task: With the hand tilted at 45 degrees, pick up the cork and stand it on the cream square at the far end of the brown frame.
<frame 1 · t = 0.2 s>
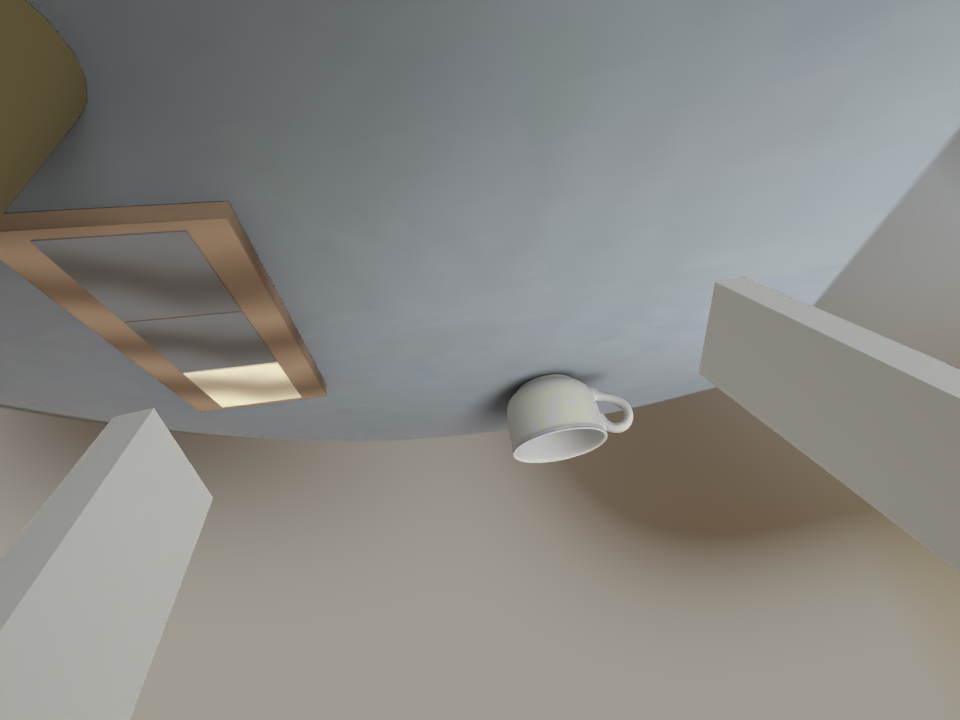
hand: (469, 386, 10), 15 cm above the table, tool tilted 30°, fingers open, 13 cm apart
brown frame: (211, 329, 31), on the table
teacup: (555, 381, 51), on the table
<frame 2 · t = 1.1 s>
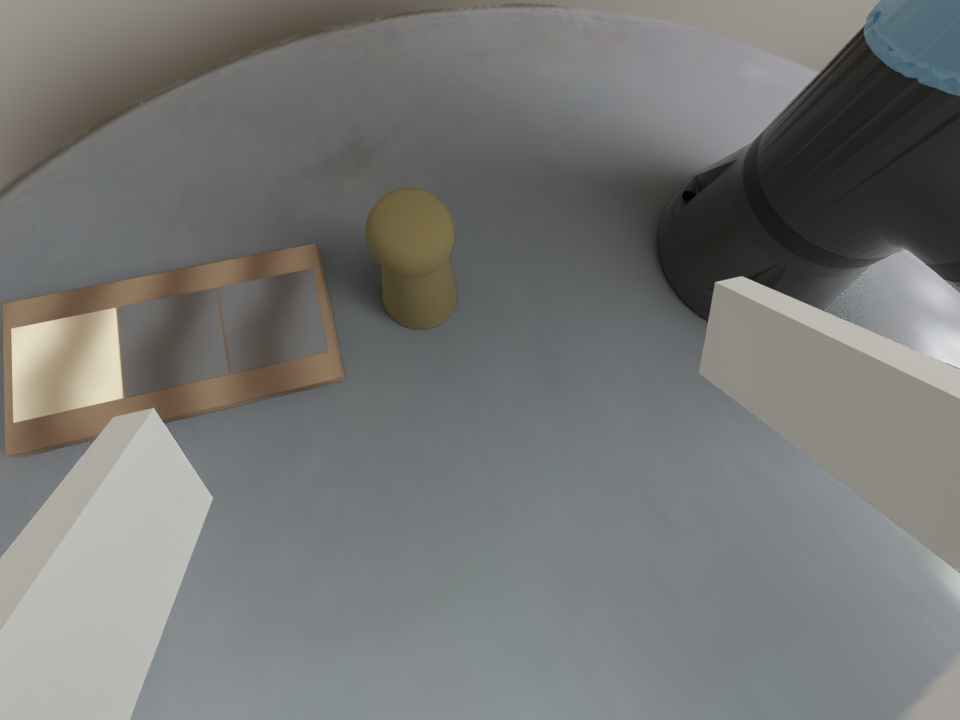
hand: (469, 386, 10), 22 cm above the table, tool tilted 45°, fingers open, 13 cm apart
brown frame: (183, 345, 32), on the table
cork: (420, 295, 35), on the table
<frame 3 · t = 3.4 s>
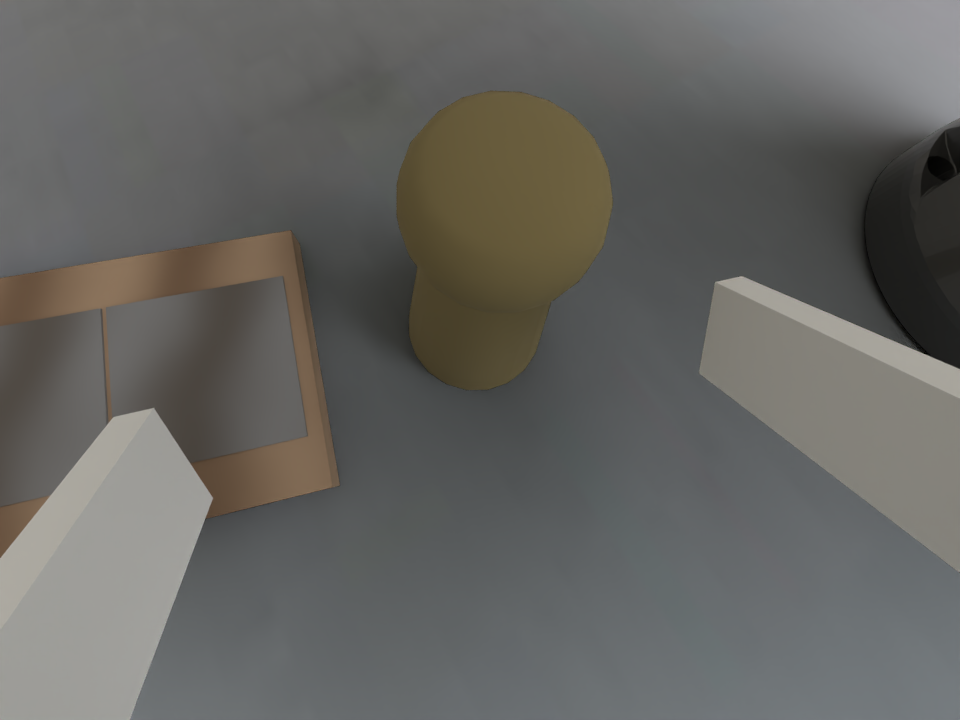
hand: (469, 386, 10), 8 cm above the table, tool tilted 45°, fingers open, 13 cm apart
brown frame: (36, 415, 17), on the table
cork: (474, 326, 20), on the table
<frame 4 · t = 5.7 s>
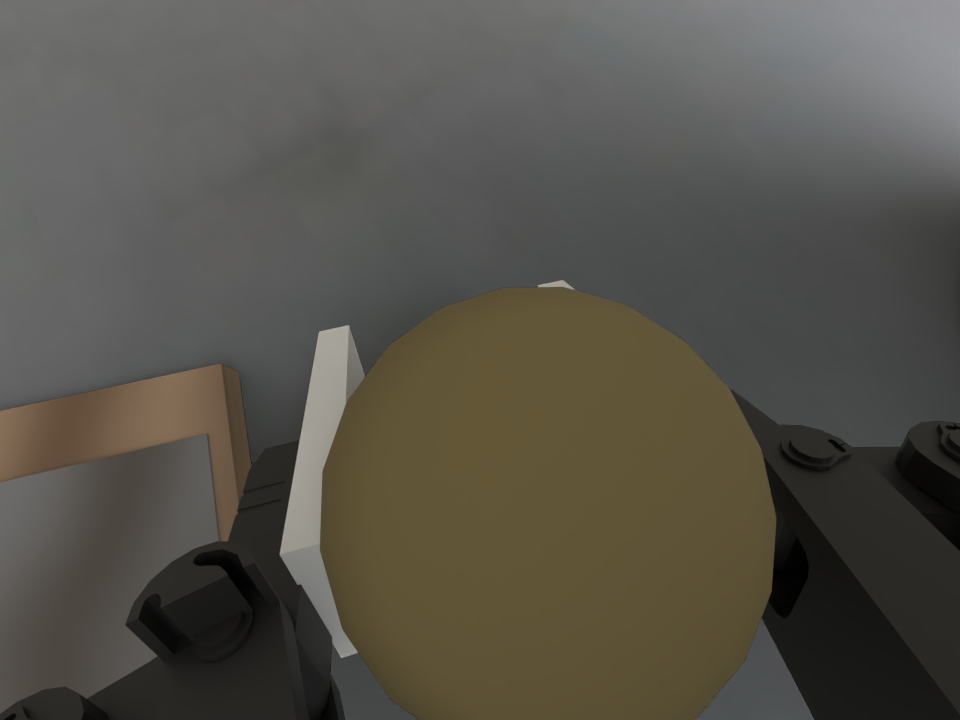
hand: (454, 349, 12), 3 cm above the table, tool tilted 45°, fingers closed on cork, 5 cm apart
cork: (477, 479, 15), on the table, touching gripper
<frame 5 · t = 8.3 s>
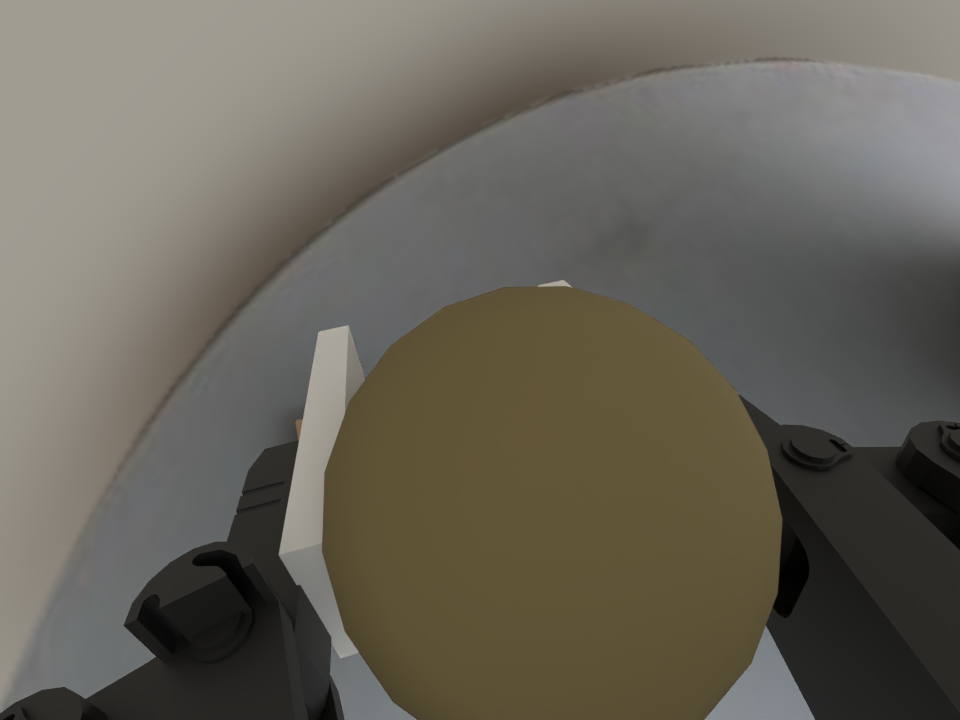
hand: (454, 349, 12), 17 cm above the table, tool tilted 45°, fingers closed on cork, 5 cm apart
cork: (478, 480, 15), point 14 cm above the table, touching gripper
when the fingers open (6 cm above the table, at t = 11.3 s): cork drops 1 cm, resting on brown frame.
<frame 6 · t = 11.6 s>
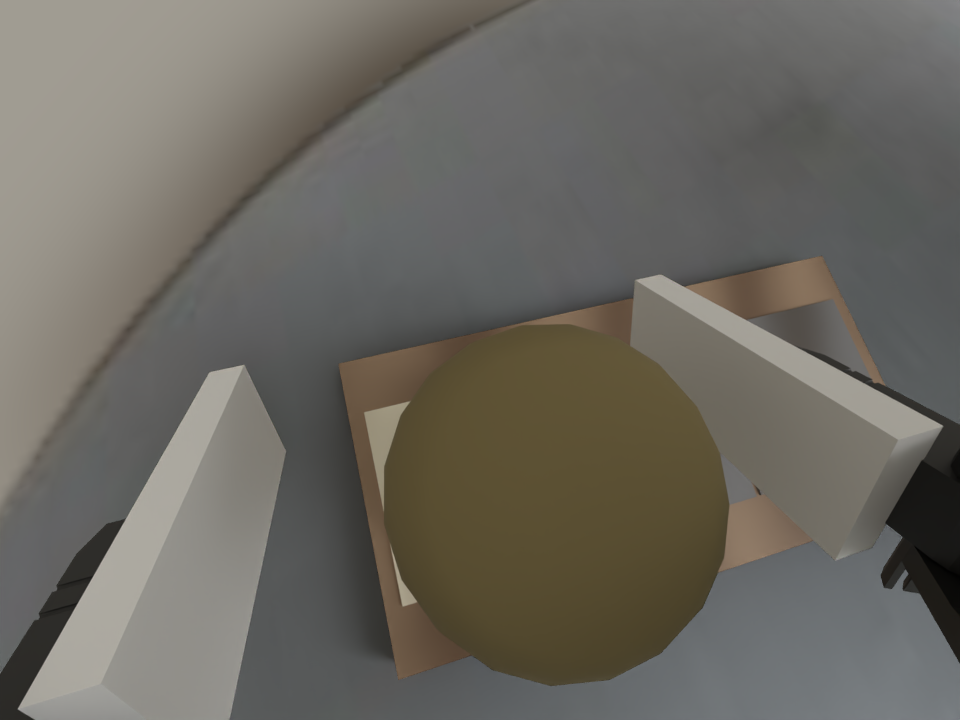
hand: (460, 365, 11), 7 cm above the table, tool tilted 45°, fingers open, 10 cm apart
brown frame: (632, 434, 18), on the table
cork: (487, 477, 16), point 1 cm above the table, touching brown frame
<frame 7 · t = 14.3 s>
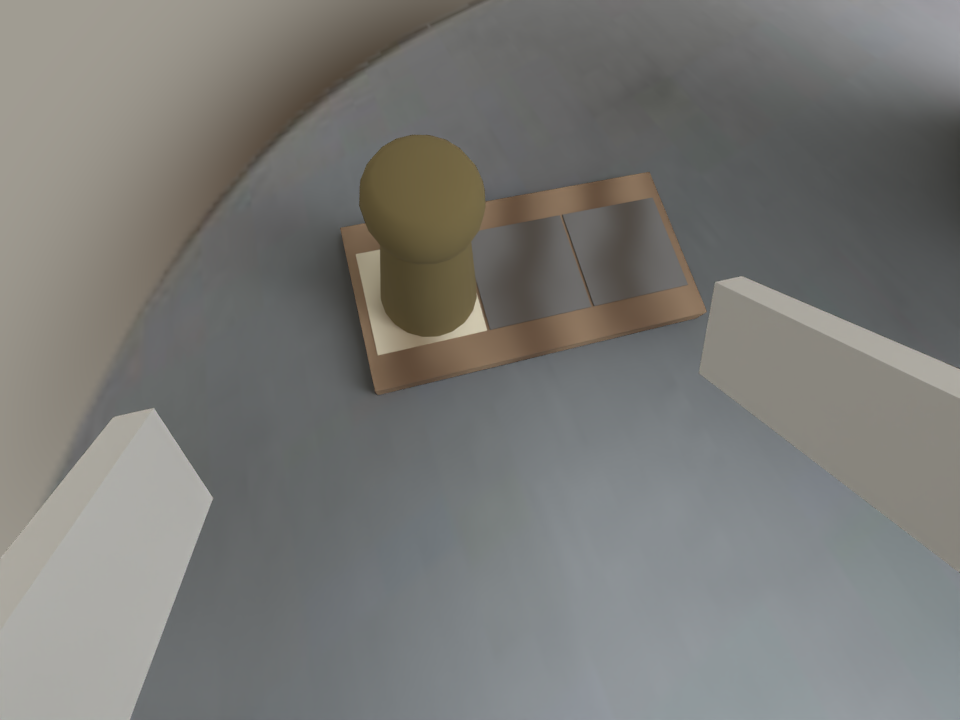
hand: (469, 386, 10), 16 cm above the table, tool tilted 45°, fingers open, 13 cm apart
brown frame: (522, 278, 29), on the table
cork: (429, 292, 27), point 1 cm above the table, touching brown frame
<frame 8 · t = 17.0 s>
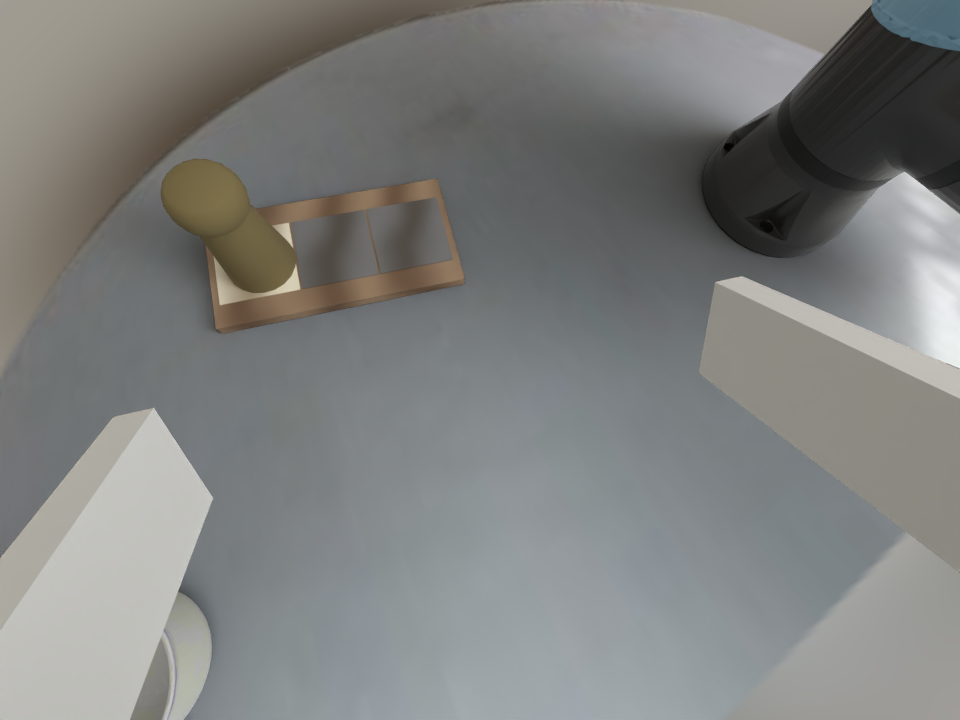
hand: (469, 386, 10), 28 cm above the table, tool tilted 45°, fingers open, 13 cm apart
brown frame: (337, 254, 41), on the table
teacup: (164, 670, 31), on the table
cork: (262, 263, 39), point 1 cm above the table, touching brown frame
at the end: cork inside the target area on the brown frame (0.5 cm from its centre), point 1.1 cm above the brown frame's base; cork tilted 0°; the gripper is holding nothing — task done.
